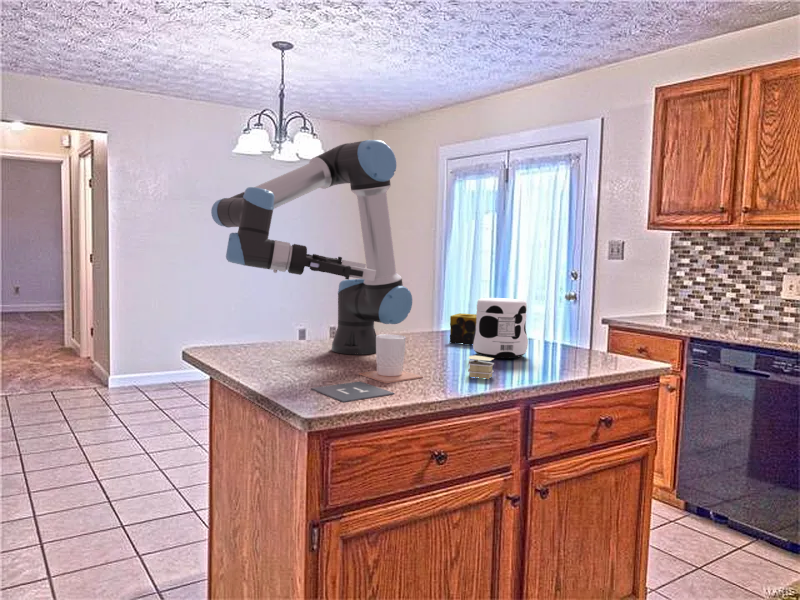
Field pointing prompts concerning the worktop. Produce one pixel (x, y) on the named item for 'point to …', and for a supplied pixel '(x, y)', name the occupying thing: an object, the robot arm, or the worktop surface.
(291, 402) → the worktop surface
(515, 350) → the milk container
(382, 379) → the coaster
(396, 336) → the white cup
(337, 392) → the tile
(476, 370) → the stacked layers on plate
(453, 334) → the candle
